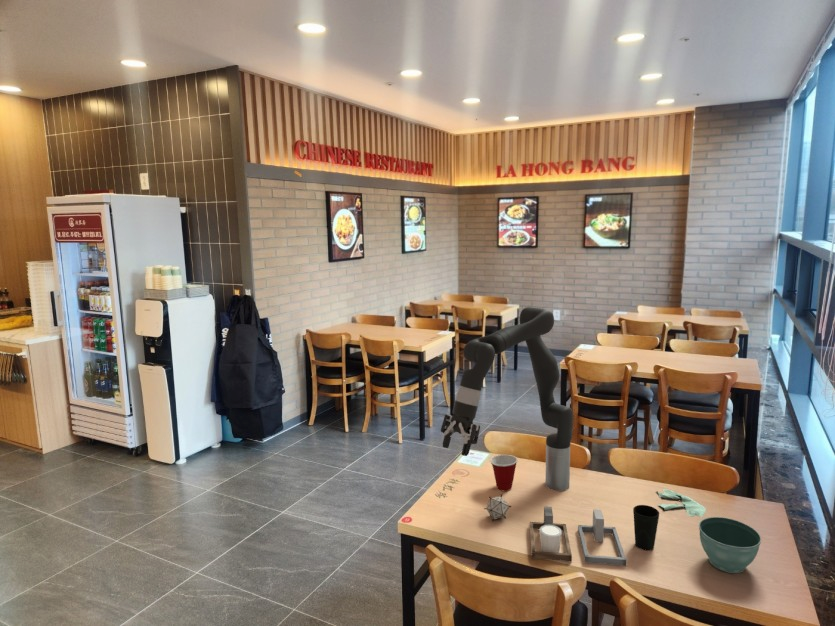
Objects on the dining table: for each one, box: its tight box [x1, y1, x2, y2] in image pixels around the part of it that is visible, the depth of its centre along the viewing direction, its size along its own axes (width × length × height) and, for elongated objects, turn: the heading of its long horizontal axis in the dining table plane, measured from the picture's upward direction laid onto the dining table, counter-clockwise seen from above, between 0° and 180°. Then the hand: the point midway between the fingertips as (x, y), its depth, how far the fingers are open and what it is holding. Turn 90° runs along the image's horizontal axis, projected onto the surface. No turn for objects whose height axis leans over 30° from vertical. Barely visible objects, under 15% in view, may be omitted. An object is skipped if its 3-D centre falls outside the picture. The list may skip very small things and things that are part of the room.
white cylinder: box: [539, 525, 563, 553], centre depth 173 cm, size 7×7×7 cm
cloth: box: [655, 488, 707, 518], centre depth 201 cm, size 20×22×2 cm
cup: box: [632, 504, 660, 552], centre depth 174 cm, size 8×8×12 cm
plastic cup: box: [489, 454, 518, 492], centre depth 215 cm, size 11×11×12 cm
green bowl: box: [698, 516, 762, 574], centre depth 164 cm, size 16×16×11 cm
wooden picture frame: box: [529, 505, 573, 563], centre depth 176 cm, size 18×12×8 cm, turn 171°
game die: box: [483, 493, 512, 522], centre depth 193 cm, size 9×8×10 cm
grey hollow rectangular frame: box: [577, 508, 627, 567], centre depth 174 cm, size 18×12×8 cm, turn 171°
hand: (454, 451), depth 175 cm, fingers open, 8 cm apart
